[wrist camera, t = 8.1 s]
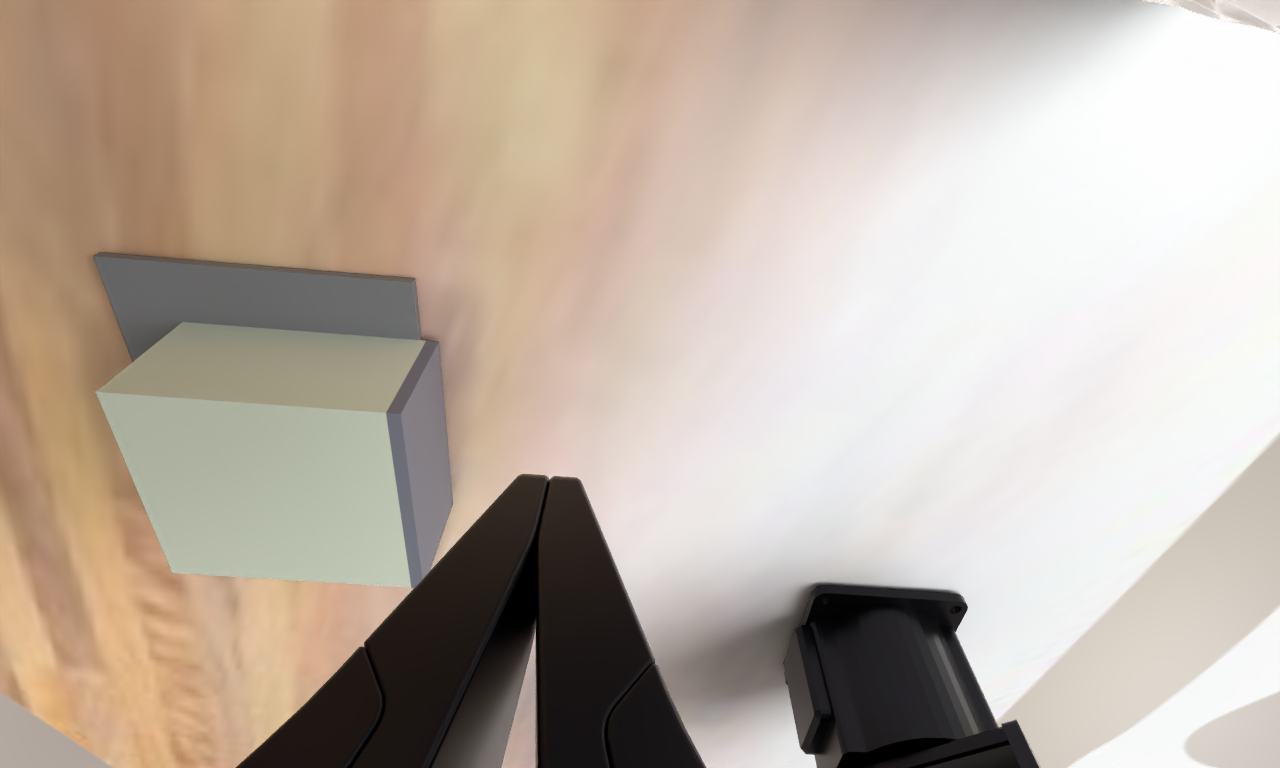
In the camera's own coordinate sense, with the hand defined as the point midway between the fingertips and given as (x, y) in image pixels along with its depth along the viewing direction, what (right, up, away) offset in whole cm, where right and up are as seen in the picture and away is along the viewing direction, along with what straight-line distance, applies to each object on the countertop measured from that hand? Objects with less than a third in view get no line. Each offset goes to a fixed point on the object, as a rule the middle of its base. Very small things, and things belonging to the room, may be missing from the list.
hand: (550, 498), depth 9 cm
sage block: (-6, -1, +12) cm, 13 cm away
